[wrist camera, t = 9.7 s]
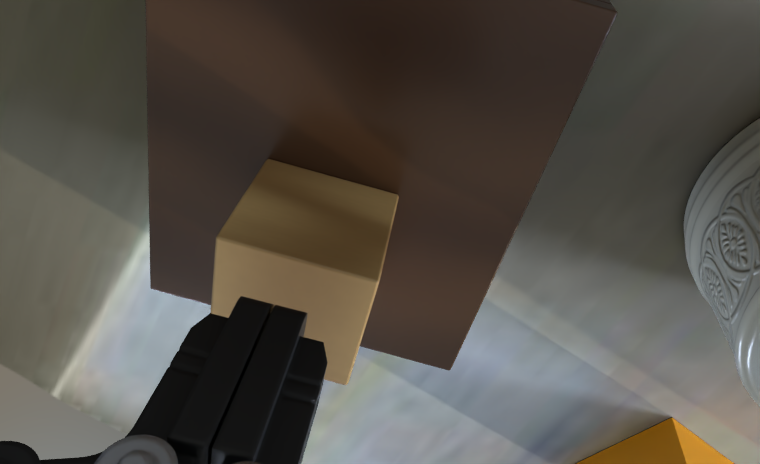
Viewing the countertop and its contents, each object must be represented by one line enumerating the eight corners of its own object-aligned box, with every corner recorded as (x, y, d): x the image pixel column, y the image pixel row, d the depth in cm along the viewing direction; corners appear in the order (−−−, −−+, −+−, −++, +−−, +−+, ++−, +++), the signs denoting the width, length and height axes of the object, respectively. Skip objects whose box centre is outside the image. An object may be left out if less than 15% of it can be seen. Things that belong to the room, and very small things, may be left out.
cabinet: (261, -142, 22) (141, -124, 14) (572, -53, 22) (618, 12, 15) (233, 172, 31) (149, 289, 23) (458, 235, 31) (450, 371, 23)
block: (254, 259, 21) (206, 348, 18) (266, 156, 19) (214, 236, 15) (370, 291, 21) (347, 386, 18) (399, 193, 19) (379, 282, 15)
